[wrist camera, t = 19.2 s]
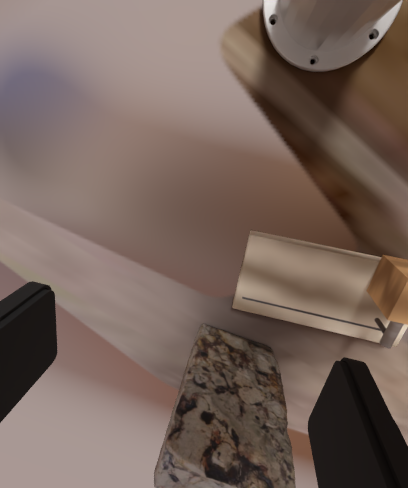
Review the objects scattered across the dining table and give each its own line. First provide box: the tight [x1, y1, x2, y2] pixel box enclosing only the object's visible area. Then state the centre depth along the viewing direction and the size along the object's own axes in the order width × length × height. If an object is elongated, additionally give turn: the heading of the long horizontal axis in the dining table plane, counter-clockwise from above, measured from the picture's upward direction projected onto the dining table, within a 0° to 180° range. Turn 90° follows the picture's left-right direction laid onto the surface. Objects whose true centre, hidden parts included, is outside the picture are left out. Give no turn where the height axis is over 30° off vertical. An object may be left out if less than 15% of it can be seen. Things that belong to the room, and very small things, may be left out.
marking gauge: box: [366, 255, 408, 348], centre depth 32 cm, size 9×4×6 cm, turn 170°
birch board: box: [232, 230, 408, 347], centre depth 37 cm, size 11×22×2 cm, turn 80°
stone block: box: [154, 324, 295, 488], centre depth 35 cm, size 13×7×20 cm, turn 77°
